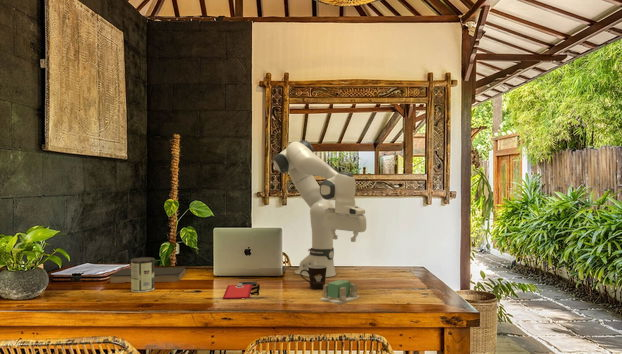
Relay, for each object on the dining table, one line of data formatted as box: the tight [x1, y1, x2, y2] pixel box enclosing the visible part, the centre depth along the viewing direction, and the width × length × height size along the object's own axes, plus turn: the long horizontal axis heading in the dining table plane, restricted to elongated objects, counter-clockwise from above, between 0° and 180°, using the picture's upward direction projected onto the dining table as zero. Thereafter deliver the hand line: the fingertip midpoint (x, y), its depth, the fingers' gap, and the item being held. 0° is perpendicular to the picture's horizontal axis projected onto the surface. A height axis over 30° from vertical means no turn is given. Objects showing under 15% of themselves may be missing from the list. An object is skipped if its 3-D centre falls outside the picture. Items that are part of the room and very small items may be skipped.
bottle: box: [327, 279, 354, 298], centre depth 203 cm, size 5×14×6 cm, turn 141°
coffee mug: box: [299, 265, 327, 291], centre depth 222 cm, size 12×9×10 cm
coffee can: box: [130, 256, 155, 293], centre depth 218 cm, size 10×10×14 cm
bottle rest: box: [320, 283, 360, 305], centre depth 202 cm, size 10×14×6 cm
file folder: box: [109, 266, 187, 284], centre depth 245 cm, size 33×4×24 cm
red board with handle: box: [222, 280, 261, 300], centre depth 217 cm, size 30×3×15 cm
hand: (344, 240), depth 210 cm, fingers open, 8 cm apart
